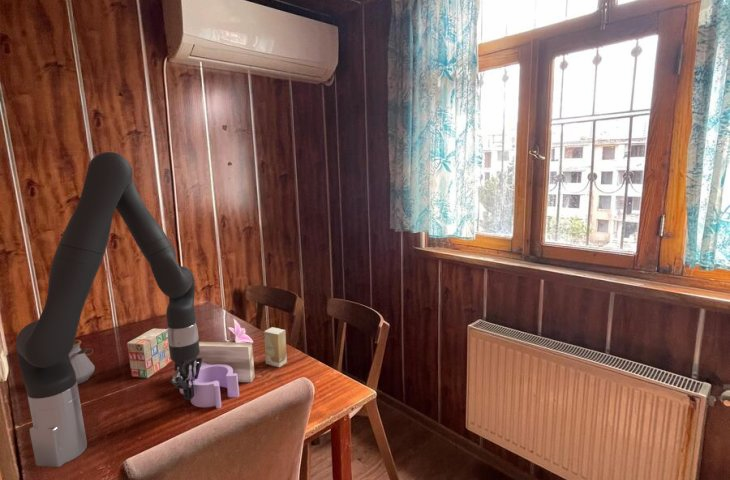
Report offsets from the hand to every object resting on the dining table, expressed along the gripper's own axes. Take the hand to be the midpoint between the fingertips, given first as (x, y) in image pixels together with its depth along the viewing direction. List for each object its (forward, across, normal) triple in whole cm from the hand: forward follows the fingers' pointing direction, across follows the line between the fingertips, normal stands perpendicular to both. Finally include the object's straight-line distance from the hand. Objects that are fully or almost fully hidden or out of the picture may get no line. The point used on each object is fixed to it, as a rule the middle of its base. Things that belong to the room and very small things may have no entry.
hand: (189, 398), depth 112 cm
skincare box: (+4, +29, -15) cm, 33 cm away
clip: (+4, +9, 0) cm, 10 cm away
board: (+4, +18, 0) cm, 18 cm away
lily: (+4, +42, +4) cm, 42 cm away
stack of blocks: (+4, +27, +27) cm, 38 cm away
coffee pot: (+4, +11, +44) cm, 45 cm away
